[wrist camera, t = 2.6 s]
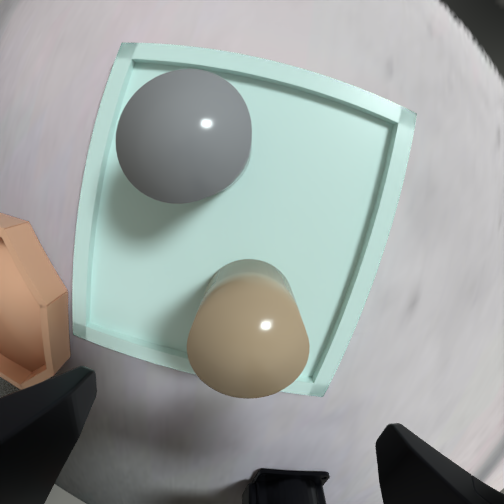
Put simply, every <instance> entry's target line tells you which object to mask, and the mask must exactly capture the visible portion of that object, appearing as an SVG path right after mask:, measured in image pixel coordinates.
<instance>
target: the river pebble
mask: <svg viewBox="0 0 504 504" xmlns="http://www.w3.org/2000/svg"><path fill="white" fill-rule="evenodd" d="M309 347H310V345H309V338H308V335H307V332H306V329H305V326H304V323H303V321H302V318H301V315H300V312H299V309H298V306H297V304H296V301H295V298H294V295H293V292H292V290H291V287H290V284H289V282H288V280H287V279H286V277H285V276H284V275H283V274H282V272H281V271H279V270H278V269H277V268H276V267H274V266H273V265H271V264H269V263H267V262H264V261H261V260H256V259H242V260H237V261H234V262H231V263H229V264H227V265H225V266H223V267H222V268H220V269H219V270H218V271H217V272H216V273H215V274H214V275H213V277H212V278H211V280H210V281H209V283H208V286H207V288H206V291H205V293H204V296H203V298H202V301H201V303H200V306H199V309H198V311H197V314H196V316H195V319H194V321H193V324H192V327H191V329H190V332H189V335H188V339H187V355H188V359H189V362H190V365H191V367H192V369H193V370H194V372H195V373H196V375H197V376H198V377H199V378H200V379H201V380H202V381H203V382H204V383H205V384H206V385H208V386H209V387H211V388H212V389H214V390H216V391H218V392H220V393H222V394H225V395H228V396H232V397H237V398H260V397H265V396H269V395H272V394H275V393H277V392H279V391H281V390H283V389H285V388H286V387H288V386H289V385H290V384H292V383H293V382H294V381H295V380H296V379H297V378H298V377H299V376H300V374H301V373H302V371H303V370H304V368H305V366H306V364H307V361H308V357H309Z"/></svg>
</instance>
